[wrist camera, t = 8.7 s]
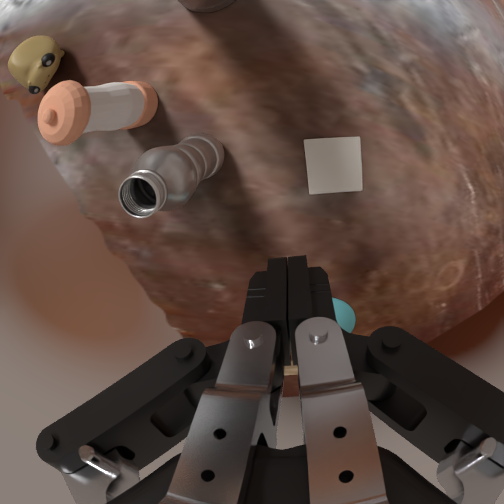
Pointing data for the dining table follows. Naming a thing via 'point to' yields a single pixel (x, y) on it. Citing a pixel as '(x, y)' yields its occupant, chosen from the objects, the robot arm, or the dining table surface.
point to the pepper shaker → (94, 109)
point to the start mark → (333, 164)
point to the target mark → (344, 315)
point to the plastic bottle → (170, 175)
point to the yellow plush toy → (35, 62)
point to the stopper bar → (291, 369)
